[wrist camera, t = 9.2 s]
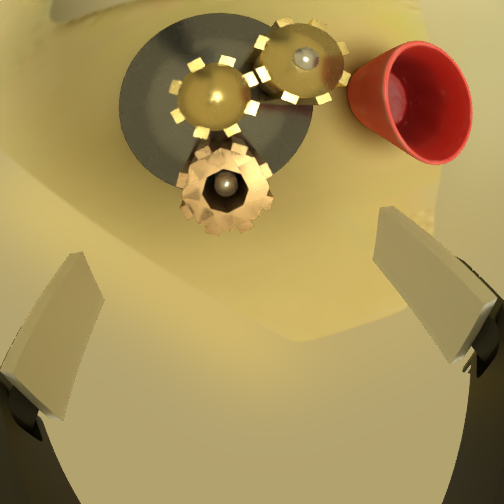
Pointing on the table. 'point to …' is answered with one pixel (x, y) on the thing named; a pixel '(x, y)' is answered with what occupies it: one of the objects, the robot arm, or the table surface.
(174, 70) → the carrier
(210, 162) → the gear
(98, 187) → the table surface
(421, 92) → the flower pot
